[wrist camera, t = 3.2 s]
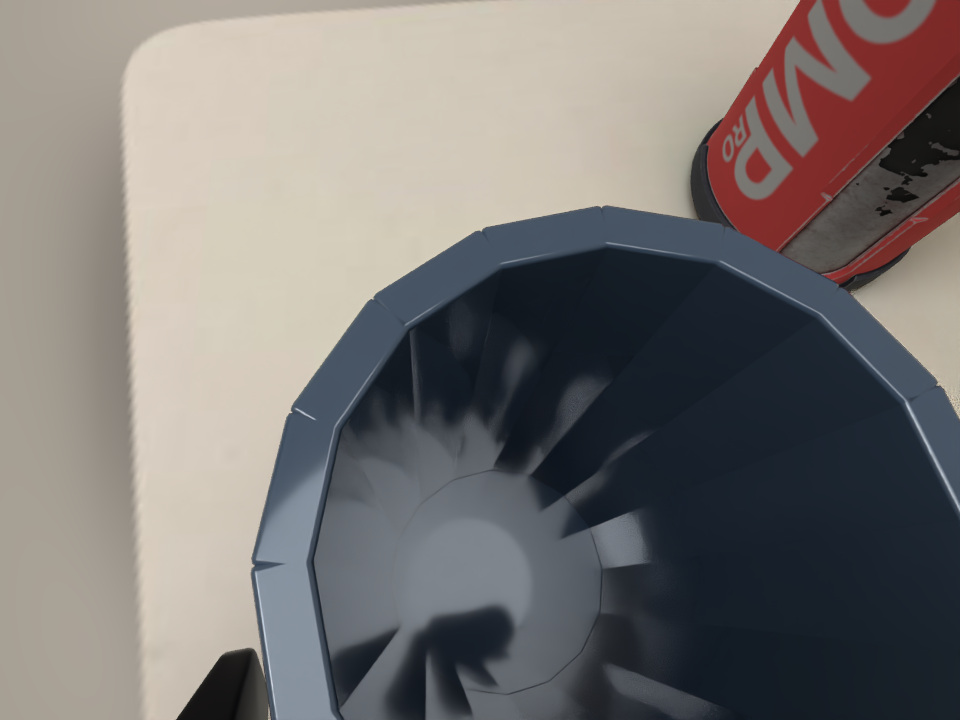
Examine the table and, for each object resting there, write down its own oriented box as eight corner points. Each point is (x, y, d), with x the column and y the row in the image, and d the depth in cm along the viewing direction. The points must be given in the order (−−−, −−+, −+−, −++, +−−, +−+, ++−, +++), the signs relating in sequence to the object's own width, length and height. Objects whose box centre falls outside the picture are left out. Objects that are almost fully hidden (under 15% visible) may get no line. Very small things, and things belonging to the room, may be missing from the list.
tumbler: (606, 726, 16) (1114, 1104, 4) (354, 693, 16) (142, 988, 4) (618, 475, 19) (971, 261, 7) (399, 443, 19) (346, 162, 6)
